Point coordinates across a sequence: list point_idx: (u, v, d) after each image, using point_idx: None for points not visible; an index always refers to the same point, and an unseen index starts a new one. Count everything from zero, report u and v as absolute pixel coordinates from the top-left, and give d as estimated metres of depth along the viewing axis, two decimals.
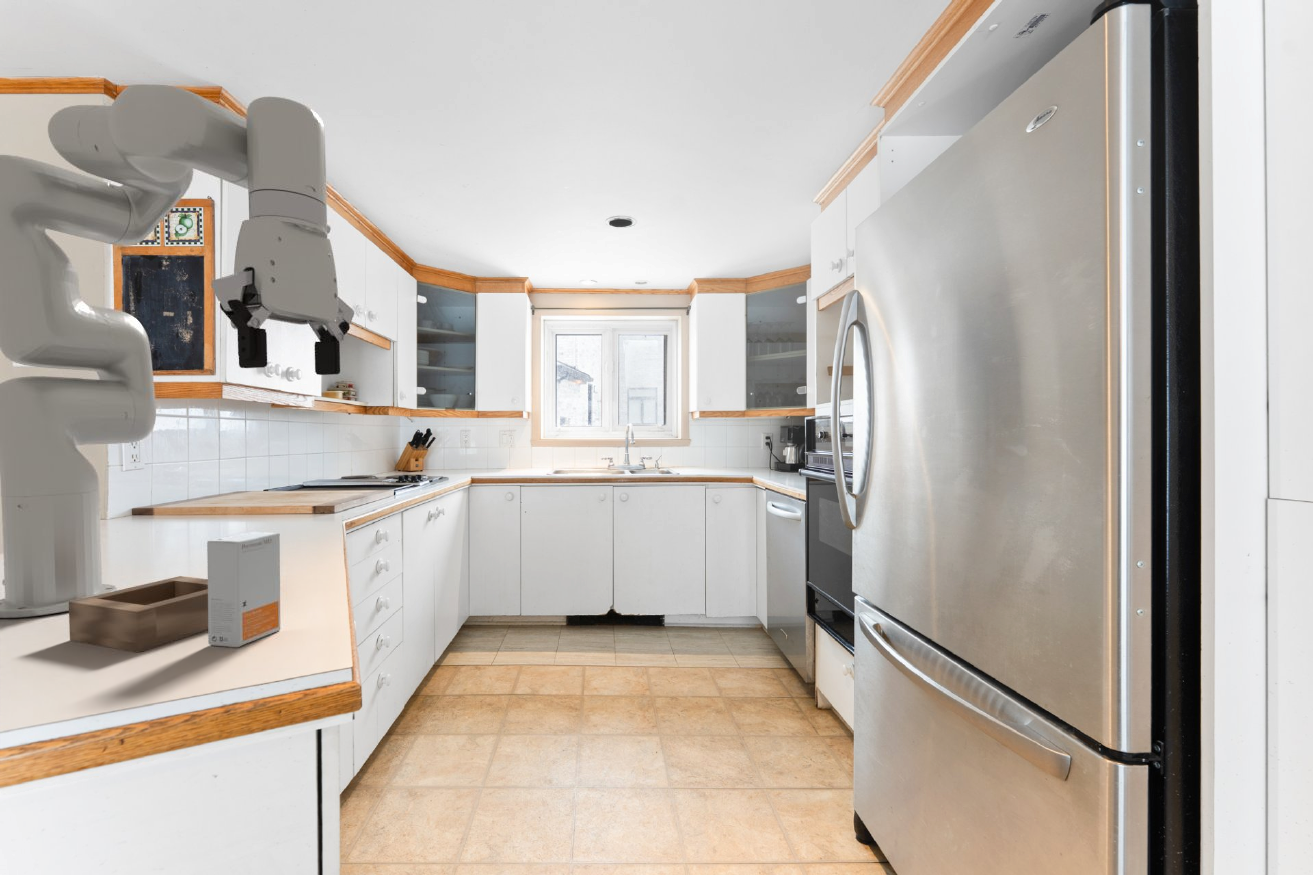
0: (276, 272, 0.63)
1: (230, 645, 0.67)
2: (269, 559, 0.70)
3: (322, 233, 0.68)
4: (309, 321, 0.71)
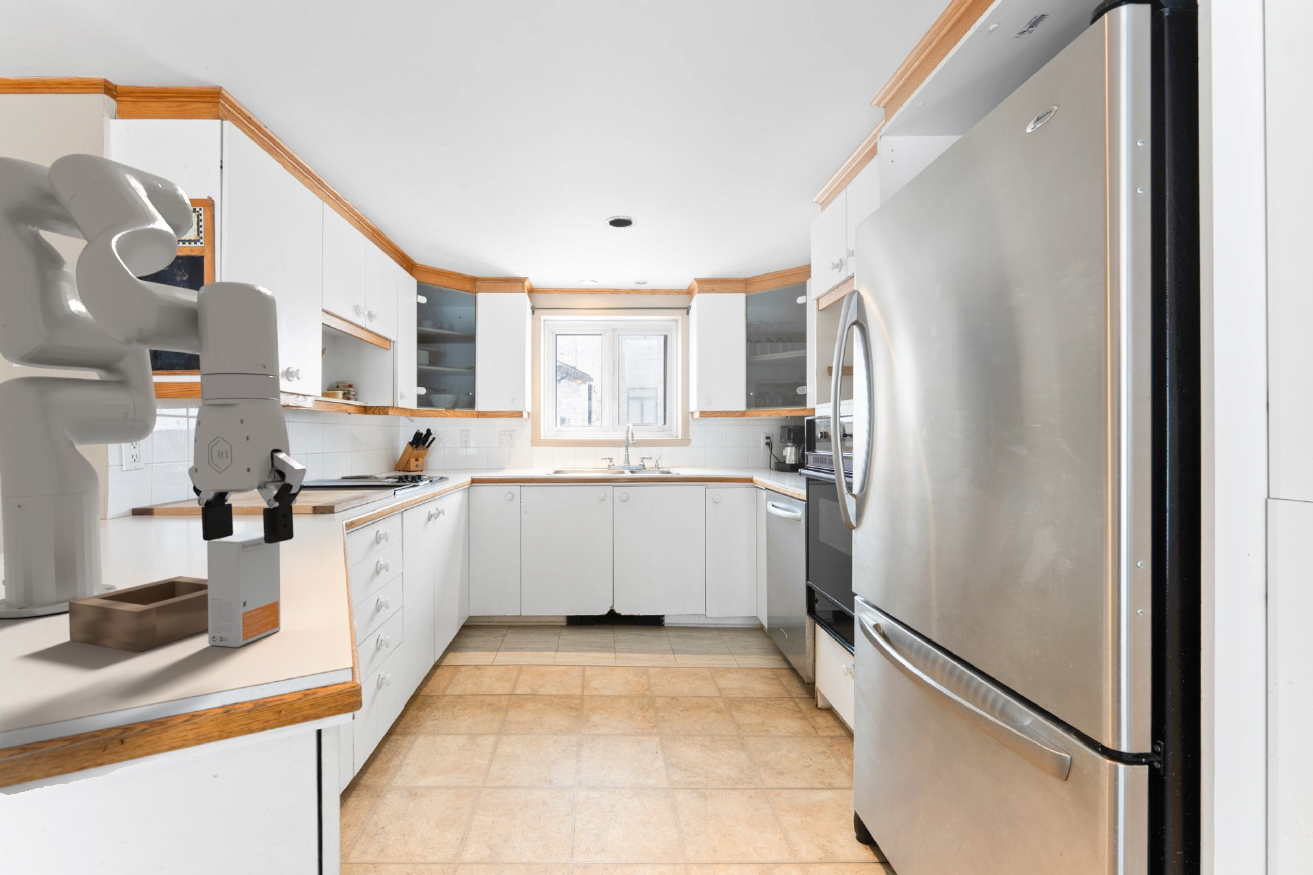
0: None
1: (230, 645, 0.67)
2: (269, 559, 0.70)
3: None
4: None
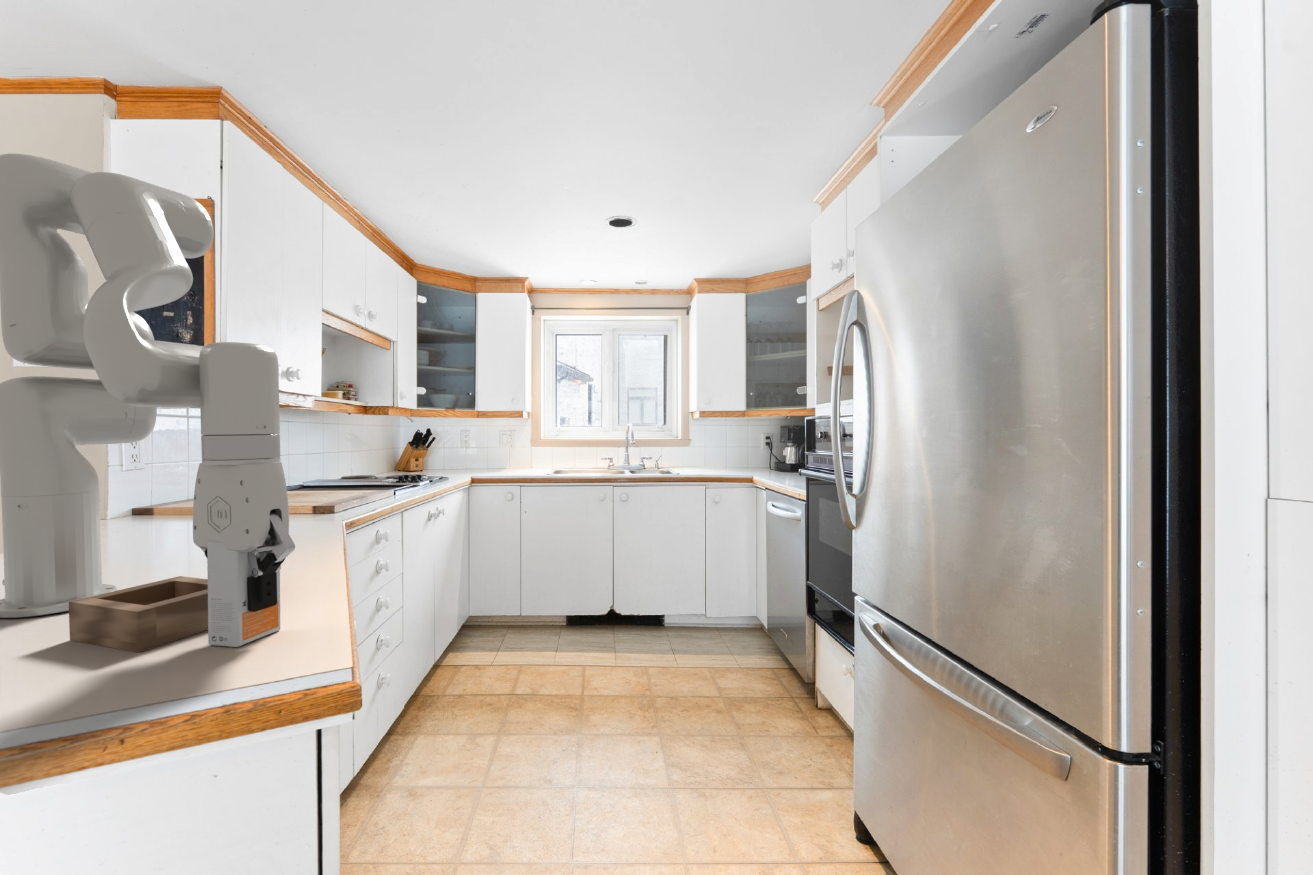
0: None
1: (230, 645, 0.67)
2: None
3: None
4: None
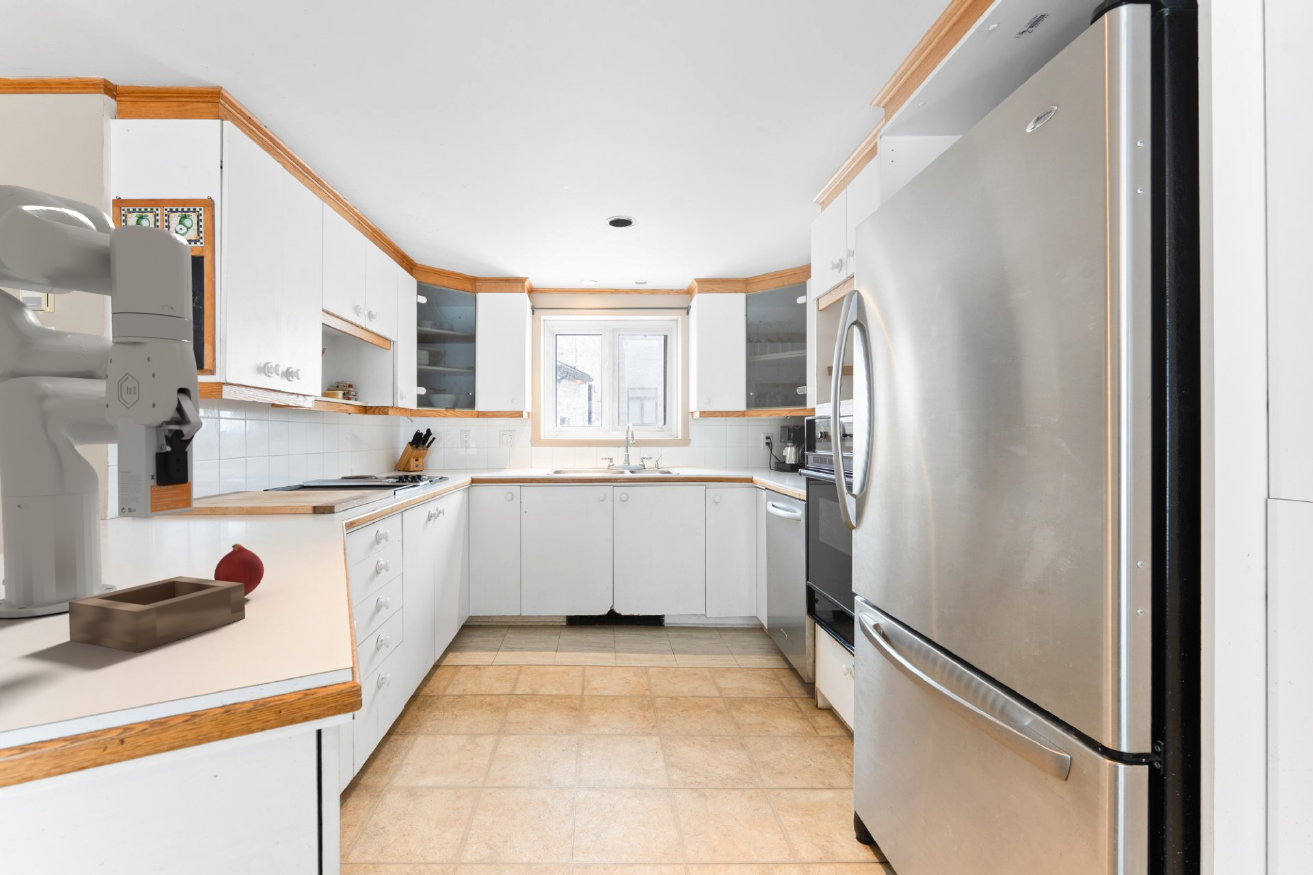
0: None
1: (138, 515, 0.70)
2: None
3: None
4: None
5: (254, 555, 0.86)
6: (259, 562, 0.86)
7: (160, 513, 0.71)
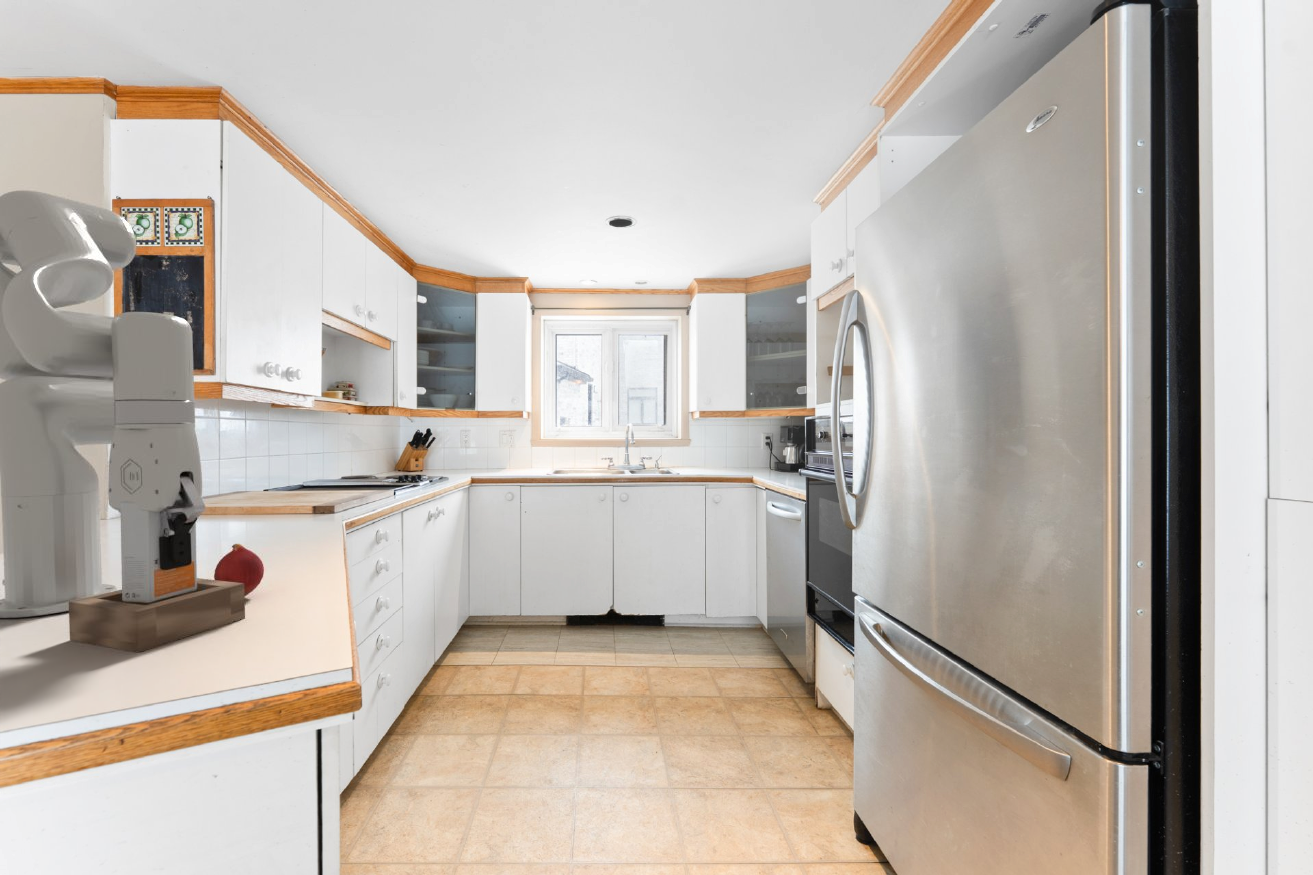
0: None
1: (142, 601, 0.70)
2: None
3: None
4: None
5: (254, 555, 0.86)
6: (259, 562, 0.86)
7: (164, 596, 0.71)
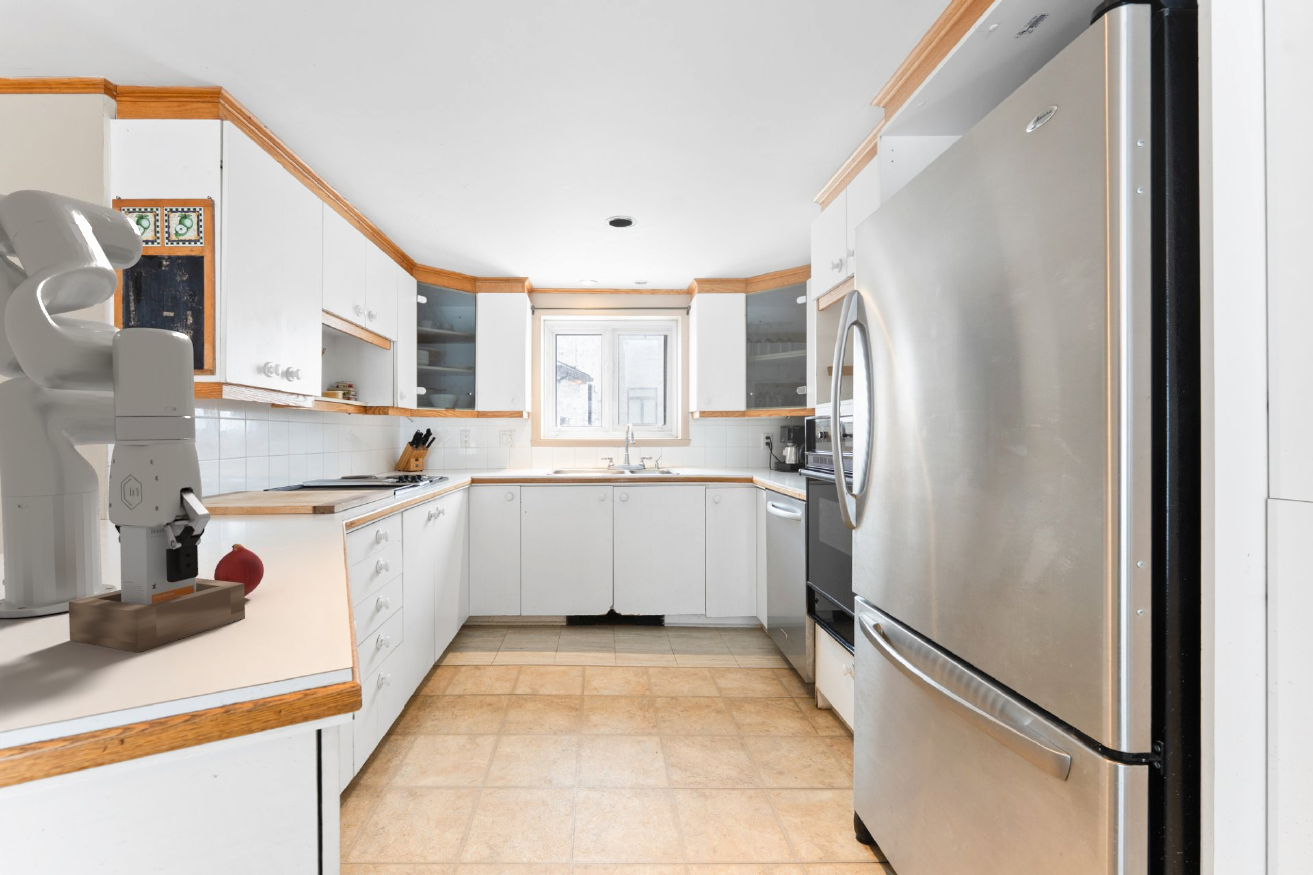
0: None
1: None
2: None
3: None
4: None
5: (254, 555, 0.86)
6: (259, 562, 0.86)
7: None
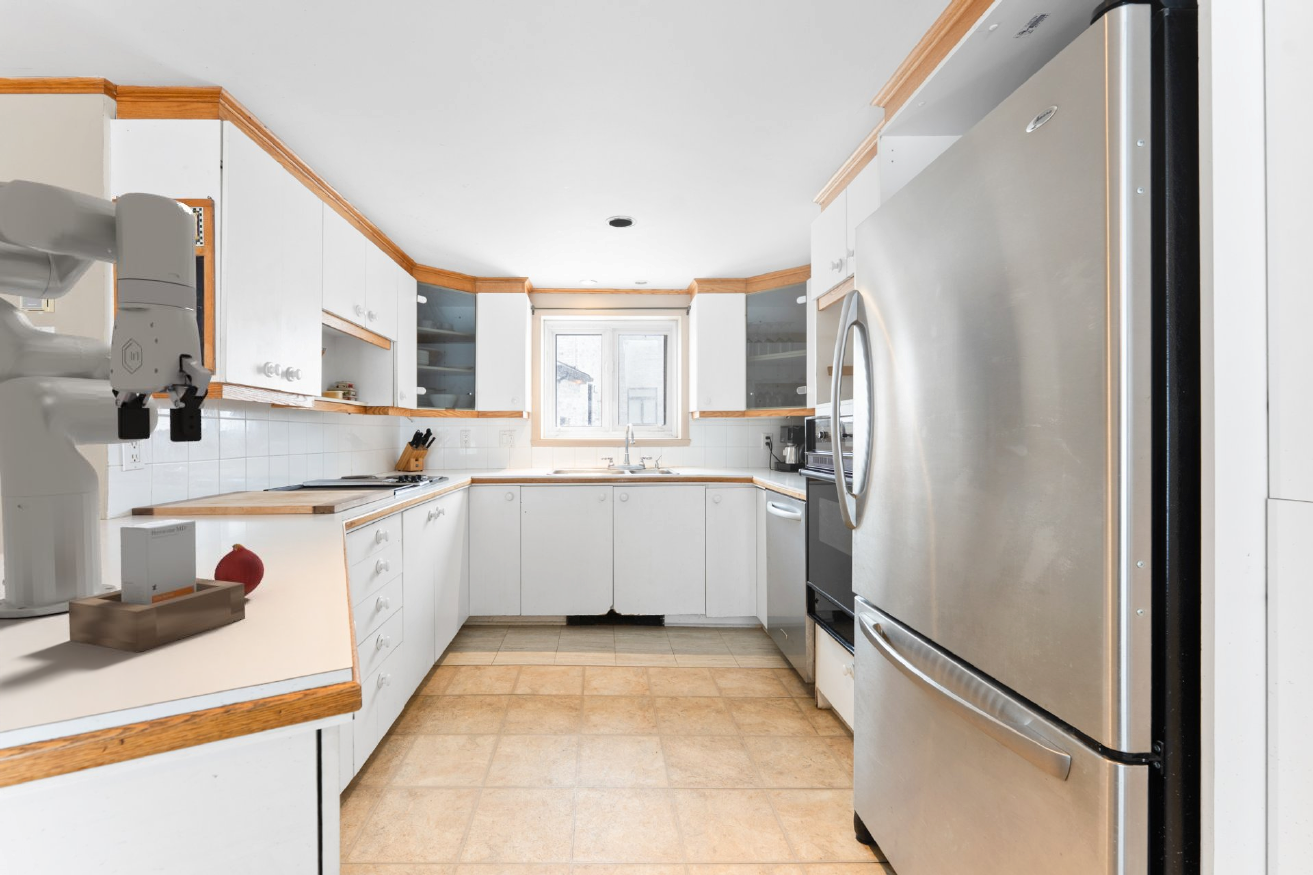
0: None
1: None
2: (183, 545, 0.74)
3: None
4: None
5: (254, 555, 0.86)
6: (259, 562, 0.86)
7: None
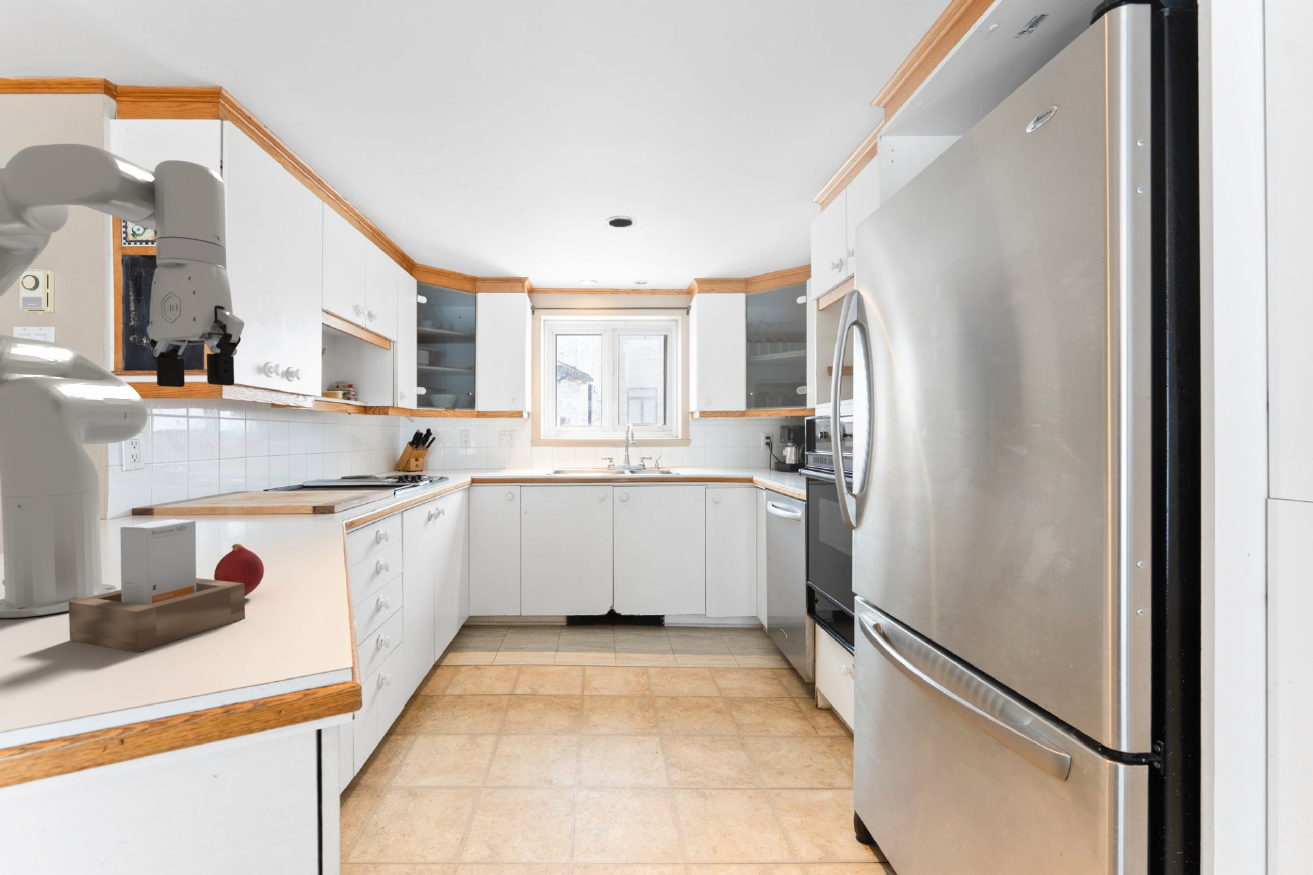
0: None
1: None
2: (183, 545, 0.74)
3: None
4: None
5: (254, 555, 0.86)
6: (259, 562, 0.86)
7: None
